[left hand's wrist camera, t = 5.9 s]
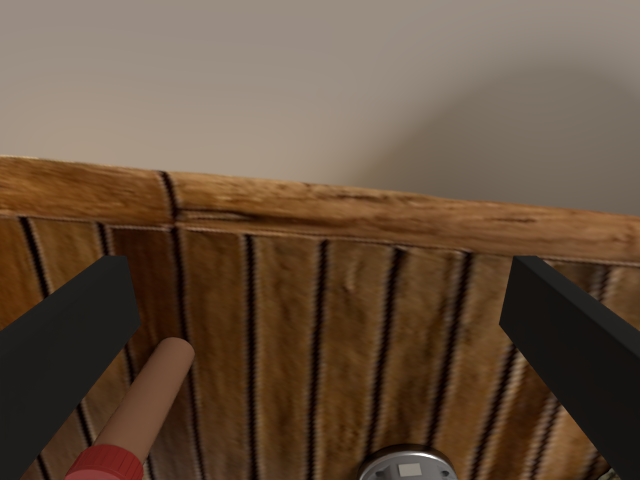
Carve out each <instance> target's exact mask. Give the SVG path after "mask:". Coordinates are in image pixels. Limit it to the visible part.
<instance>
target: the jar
mask: <svg viewBox="0 0 640 480" xmlns="http://www.w3.org/2000/svg"><path fill="white" fill-rule="evenodd" d="M194 358H195V353H194V349H193V348H192V346H191V345H190V344H189V343H188V342H187V341H185V340H183V339H180V338H176V337H170V338H166V339H164V340H162V341H161V342H160V343H159V344H158V345H157V347H156V348H155V350H154V351H153V353H152V354H151V356H150V357H149V359H148V360H147V362H146V363H145V365H144V367H143V368H142V370H141V371H140V373H139V374H138V376H137V377H136V379H135V380H134V382H133V383H132V385H131V386H130V388H129V389H128V391H127V392H126V394H125V396H124V397H123V399H122V400H121V402H120V403H119V405H118V406H117V408H116V409H115V411H114V412H113V414H112V415H111V417H110V418H109V420H108V421H107V423H106V425H105V426H104V428H103V429H102V431H101V432H100V434H99V435H98V437H97V438H96V440H95V441H94V443H93V444H92V446H95V445H102V444H107V445H114V446H118V447H121V448H124V449H126V450H128V451H130V452H131V453H133V454H134V455H135V456H136V457H137V458H138V459H139V460H140V462H141V464H142V466H143V465H144V463H145V460H146V458H147V456H148V454H149V452H150V450H151V448H152V446H153V444H154V442H155V440H156V438H157V435H158V433H159V431H160V429H161V427H162V425H163V423H164V421H165V419H166V417H167V415H168V413H169V411H170V408H171V406H172V404H173V402H174V400H175V398H176V396H177V394H178V392H179V390H180V388H181V386H182V383H183V381H184V379H185V377H186V375H187V373H188V371H189V369H190V367H191V365H192V363H193V361H194Z"/></svg>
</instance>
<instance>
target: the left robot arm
mask: <svg viewBox="0 0 640 480" xmlns="http://www.w3.org/2000/svg"><path fill="white" fill-rule="evenodd" d="M140 325H141V321H140V317H139V312H138V308H137V303H136V298H135V294H134V289H133V284H132V280H131V275H130V270H129V266H128V261H127V256H103V257H101V258H100V259H99V260H97V261H96V262H95V263H93V264H92V265H90V266H89V267H88V268H86V269H85V270H84V271H82V272H81V273H79V274H78V275H77V276H75V277H74V278H73V279H71V280H70V281H69V282H67V283H66V284H64V285H63V286H62V287H60V288H59V289H58V290H56V291H55V292H54V293H52V294H51V295H49V296H48V297H47V298H45V299H44V300H43V301H41V302H40V303H39V304H37V305H36V306H34V307H33V308H32V309H30V310H29V311H28V312H26V313H25V314H24V315H22V316H21V317H19V318H18V319H17V320H15V321H14V322H13V323H11V324H10V325H8V326H7V327H6V328H4V329H3V330H2V331H0V480H19V479H20V478H21V476H22V475H23V474H24V472H25V471H26V470H27V469H28V467H29V466H30V465H31V464H32V462H33V461H34V460H35V459H36V457H37V456H38V455H39V453H40V452H41V451H42V450H43V448H44V447H45V446H46V445H47V443H48V442H49V441H50V439H51V438H52V437H53V436H54V434H55V433H56V432H57V431H58V429H59V428H60V427H61V426H62V424H63V423H64V422H65V420H66V419H67V418H68V417H69V415H70V414H71V413H72V412H73V410H74V409H75V408H76V406H77V405H78V404H79V403H80V401H81V400H82V399H83V398H84V396H85V395H86V394H87V393H88V391H89V390H90V389H91V387H92V386H93V385H94V384H95V382H96V381H97V380H98V379H99V377H100V376H101V375H102V373H103V372H104V371H105V370H106V368H107V367H108V366H109V365H110V363H111V362H112V361H113V359H114V358H115V357H116V356H117V354H118V353H119V352H120V351H121V349H122V348H123V347H124V346H125V344H126V343H127V342H128V340H129V339H130V338H131V337H132V335H133V334H134V333H135V332H136V330H137V329H138V328H139V326H140ZM499 325H500V326H501V328H502V329H503V330H504V332H505V333H506V334H507V335H508V337H509V338H510V339H511V340H512V342H513V343H514V344H515V346H516V347H517V348H518V349H519V351H520V352H521V353H522V354H523V356H524V357H525V358H526V359H527V361H528V362H529V363H530V365H531V366H532V367H533V368H534V370H535V371H536V372H537V373H538V375H539V376H540V377H541V379H542V380H543V381H544V382H545V384H546V385H547V386H548V387H549V389H550V390H551V391H552V393H553V394H554V395H555V396H556V398H557V399H558V400H559V401H560V403H561V404H562V405H563V406H564V408H565V409H566V410H567V412H568V413H569V414H570V415H571V417H572V418H573V419H574V420H575V422H576V423H577V424H578V426H579V427H580V428H581V429H582V431H583V432H584V433H585V434H586V436H587V437H588V438H589V439H590V441H591V442H592V443H593V445H594V446H595V447H596V448H597V450H598V451H599V452H600V453H601V455H602V456H603V457H604V459H605V460H606V461H607V462H608V464H609V465H610V466H611V467H612V469H613V470H614V471H615V472H616V474H617V475H618V476H619V478H620V479H621V480H640V331H638V330H637V329H636V328H634V327H633V326H632V325H630V324H629V323H627V322H626V321H625V320H623V319H622V318H621V317H619V316H618V315H616V314H615V313H614V312H612V311H611V310H610V309H608V308H607V307H606V306H604V305H603V304H601V303H600V302H599V301H597V300H596V299H595V298H593V297H592V296H591V295H589V294H588V293H586V292H585V291H584V290H582V289H581V288H580V287H578V286H577V285H576V284H574V283H573V282H571V281H570V280H569V279H567V278H566V277H565V276H563V275H562V274H561V273H559V272H558V271H556V270H555V269H554V268H552V267H551V266H550V265H548V264H547V263H545V262H544V261H543V260H541V259H540V258H539V257H537V256H513V261H512V266H511V270H510V275H509V280H508V284H507V289H506V294H505V298H504V303H503V308H502V312H501V317H500V321H499ZM357 480H458V479H457V476H456V473H455V470H454V467H453V465H452V463H451V461H450V460H449V459H448V458H447V457H446V456H445V455H444V454H443V453H441V452H440V451H438V450H436V449H434V448H431V447H428V446H424V445H417V444H403V445H396V446H392V447H388V448H385V449H383V450H380V451H378V452H377V453H375V454H373V455H372V456H371V457H369V458H368V459H367V460H366V461H365V462H364V463H363V464H362V466H361V467H360V469H359V471H358V474H357Z"/></svg>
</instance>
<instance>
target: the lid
mask: <svg viewBox="0 0 640 480" xmlns="http://www.w3.org/2000/svg"><path fill="white" fill-rule="evenodd" d="M143 475H144V474H143V466H142V464H141V462H140V460H139V459H138V458H137V457H136V456H135V455H134V454H133V453H131V452H130V451H128V450H126V449H124V448H121V447H118V446H114V445H107V444H102V445H95V446H91V447H89V448H87V449H86V450H84V451H83V452H81V453H80V455H79V456H78V458H77V459H76V461H75V462H74V464H73V465H72V466H71V468H70V469H69V471H68V472H67V474H66V475H65V476H66V477H65V478H64V480H142V477H143Z"/></svg>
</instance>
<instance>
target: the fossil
mask: <svg viewBox="0 0 640 480" xmlns="http://www.w3.org/2000/svg"><path fill="white" fill-rule="evenodd" d="M598 480H621V479H620V478H619V476H618V475H617V474H616V472H615V471H614V470H613V469H612V468H611V469H610V470H609V472H608V473H606V474H604V475H603V476H601V477H600V478H599V479H598Z"/></svg>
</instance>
